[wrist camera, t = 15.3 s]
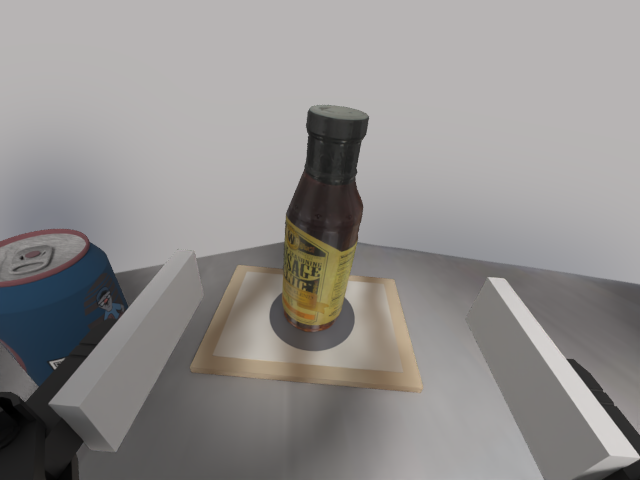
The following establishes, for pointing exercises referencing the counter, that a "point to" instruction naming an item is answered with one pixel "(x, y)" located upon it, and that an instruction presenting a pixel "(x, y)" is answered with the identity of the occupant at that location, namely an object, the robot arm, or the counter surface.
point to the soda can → (53, 296)
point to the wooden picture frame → (310, 336)
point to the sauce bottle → (323, 219)
